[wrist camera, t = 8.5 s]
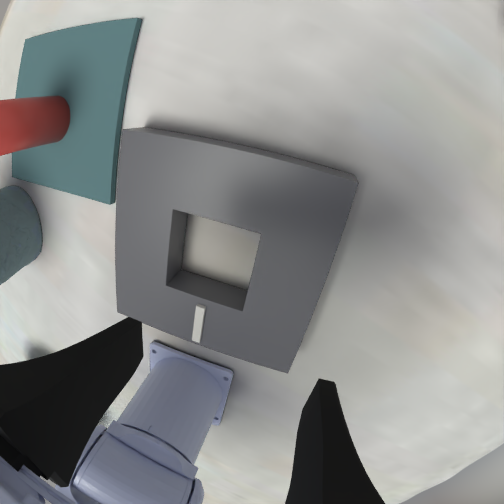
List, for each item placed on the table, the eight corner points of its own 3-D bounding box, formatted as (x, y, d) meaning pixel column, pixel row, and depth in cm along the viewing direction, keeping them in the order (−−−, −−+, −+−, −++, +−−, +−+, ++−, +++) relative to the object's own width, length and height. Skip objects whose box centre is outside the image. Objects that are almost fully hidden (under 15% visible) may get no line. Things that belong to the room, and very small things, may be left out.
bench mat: (114, 202, 22) (110, 204, 21) (16, 175, 23) (12, 177, 23) (142, 19, 16) (137, 17, 15) (29, 39, 17) (25, 39, 17)
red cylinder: (68, 144, 20) (-13, 164, 13) (39, 141, 20) (-34, 160, 13) (72, 94, 18) (-11, 101, 11) (43, 96, 19) (-33, 105, 12)
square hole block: (292, 351, 23) (287, 376, 21) (133, 296, 25) (115, 313, 22) (354, 175, 17) (359, 183, 15) (144, 127, 19) (119, 129, 16)
